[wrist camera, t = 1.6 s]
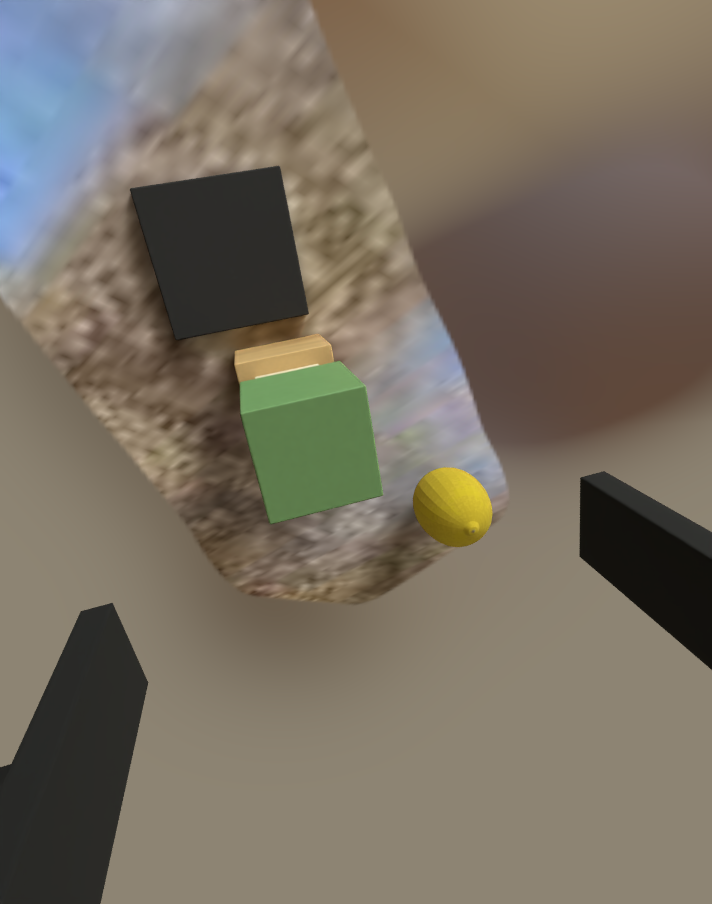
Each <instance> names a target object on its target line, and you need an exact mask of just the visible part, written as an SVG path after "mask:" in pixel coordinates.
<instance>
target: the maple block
mask: <svg viewBox="0 0 712 904" xmlns="http://www.w3.org/2000/svg"><path fill="white" fill-rule="evenodd" d="M332 362H334V359H333V353H332V348H331V344H330V343H328V342H327V341H326V340H325V339H324V338H323V337H321V336H320V335H319V334H316V335H311V336H306V337H301V338H296V339H291V340H286V341H281V342H276V343H271V344H267V345H262V346H257V347H252V348H247V349H242V350H237V351H235V360H234V366H235V370H236V374H237V377H238V381H239V385H240V382H243V381H247V380H252V379H255V377H257V376H262V375H267V374H271V373H276V372H281V371H285V370H290V369H295V368H300V367H304V366H309V365H314V364H319V365H323V364H327V363H332Z"/></svg>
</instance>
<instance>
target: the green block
mask: <svg viewBox="0 0 712 904" xmlns="http://www.w3.org/2000/svg"><path fill="white" fill-rule="evenodd" d="M240 416H241V420H242V424H243V427H244V431H245V435H246V438H247V442H248V446H249V450H250V453H251V457H252V461H253V464H254V468H255V472H256V476H257V479H258V483H259V487H260V490H261V494H262V498H263V502H264V505H265V509H266V513H267V516H268V520H269V523H270V524H274V523H278V522H282V521H286V520H290V519H294V518H298V517H302V516H305V515H309V514H313V513H317V512H321V511H325V510H329V509H333V508H337V507H341V506H345V505H348V504H352V503H356V502H360V501H364V500H368V499H372V498H376V497H380V496H383V490H382V484H381V478H380V471H379V465H378V459H377V453H376V447H375V440H374V434H373V428H372V422H371V415H370V409H369V403H368V397H367V391H366V386H365V385H364V384H363V383H362V382H361V381H360V380H359V379H358V378H357V377H356V376H355V375H354V374H353V373H352V372H351V371H349V370H348V369H347V368H346V367H345V366H344V365H343V364H342V363H341V362H340V361H337V362H332V363H327V364H323V365H318V366H313V367H309V368H304V369H299V370H295V371H290V372H285V373H280V374H276V375H271V376H266V377H262V378H257V379H252V380H247V381H243V382H240Z"/></svg>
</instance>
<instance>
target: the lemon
mask: <svg viewBox="0 0 712 904" xmlns="http://www.w3.org/2000/svg"><path fill="white" fill-rule="evenodd" d="M413 508H414V511H415V515H416V518H417V520H418V522H419V523H420V525H421V526H422V528H423V529H424V530H425V532H427V533H428V534H429V535H430V536H431V537H433V538H434V539H435V540H437V541H438V542H440V543H443V544H445V545H448V546H452V547H463V546H468V545H471V544H473V543H475V542H477V541H478V540H480V539H481V538H482V537H483V535H484V534H485V533H486V532H487V530H488V529H489V526H490V524H491V520H492V505H491V502H490V499H489V497H488V494H487V492H486V491H485V489H484V488H483V486H482V485H481V484H480V483H479V482H478V480H477V479H475V478H474V477H473V476H471V475H470V474H468V473H467V472H465V471H463V470H459V469H456V468H445V467H444V468H439V469H435V470H433V471H431V472H429V473H428V474H426V475H425V476H424V477H423V478H422V479H421V480H420V481H419V483H418V485H417V487H416V489H415V492H414V496H413Z"/></svg>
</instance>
